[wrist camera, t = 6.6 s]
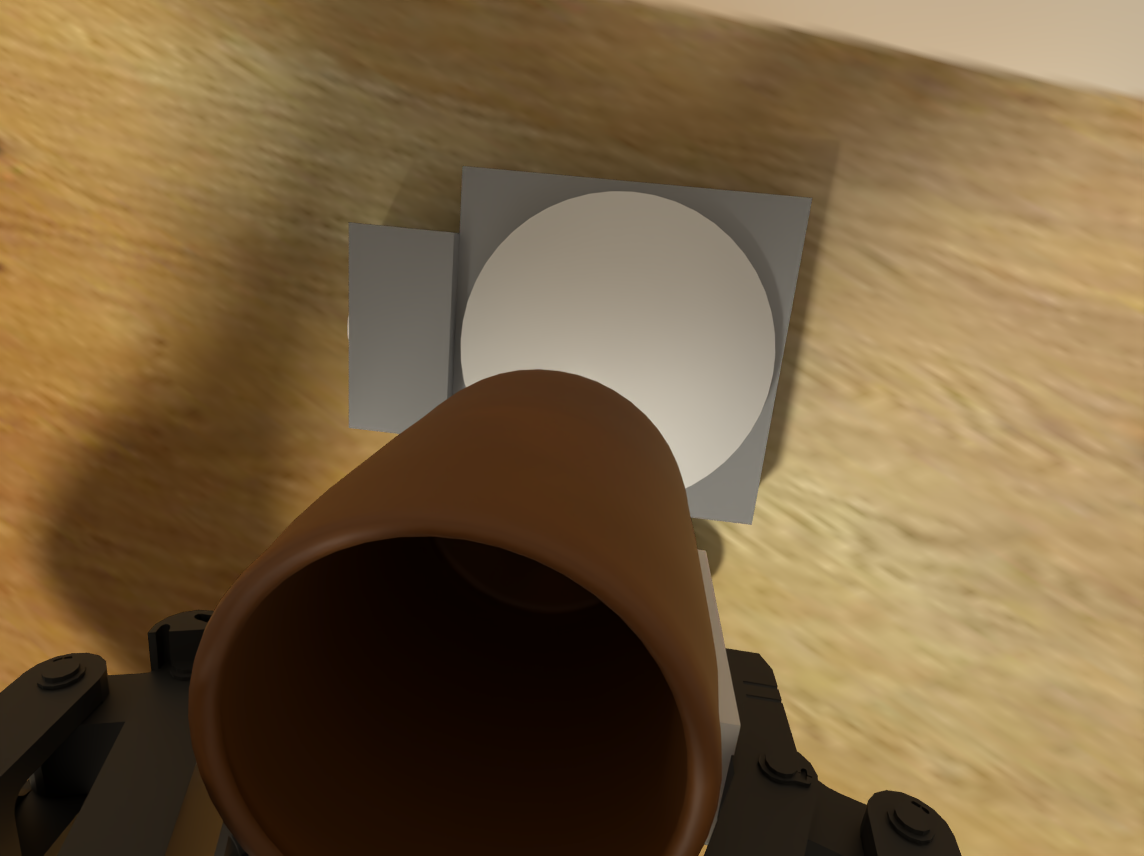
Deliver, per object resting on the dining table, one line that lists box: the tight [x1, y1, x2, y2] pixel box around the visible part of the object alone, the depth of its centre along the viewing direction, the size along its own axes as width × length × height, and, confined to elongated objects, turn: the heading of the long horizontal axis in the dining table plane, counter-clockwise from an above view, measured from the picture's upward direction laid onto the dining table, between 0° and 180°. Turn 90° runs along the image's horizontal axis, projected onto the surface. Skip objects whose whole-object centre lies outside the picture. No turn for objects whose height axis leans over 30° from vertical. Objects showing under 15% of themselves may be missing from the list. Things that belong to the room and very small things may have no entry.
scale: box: [348, 166, 812, 525], centre depth 32 cm, size 21×16×4 cm
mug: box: [188, 369, 722, 856], centre depth 14 cm, size 12×8×9 cm, turn 165°
